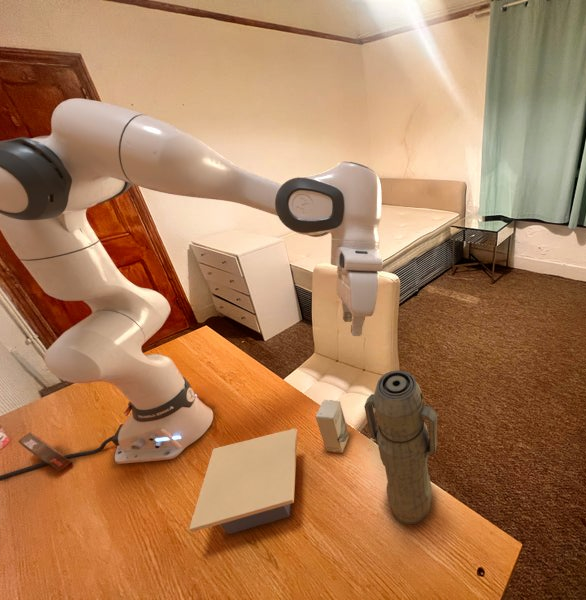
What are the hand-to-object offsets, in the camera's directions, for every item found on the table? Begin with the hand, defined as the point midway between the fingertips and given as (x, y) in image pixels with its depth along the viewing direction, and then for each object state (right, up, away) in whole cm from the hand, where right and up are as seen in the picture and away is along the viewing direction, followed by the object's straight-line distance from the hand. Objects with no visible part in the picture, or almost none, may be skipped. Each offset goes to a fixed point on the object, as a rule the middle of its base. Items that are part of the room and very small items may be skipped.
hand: (351, 327), depth 60 cm
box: (-6, -31, +17) cm, 35 cm away
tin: (-79, -36, +19) cm, 89 cm away
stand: (-21, -38, +7) cm, 44 cm away
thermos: (+12, -37, +4) cm, 39 cm away
